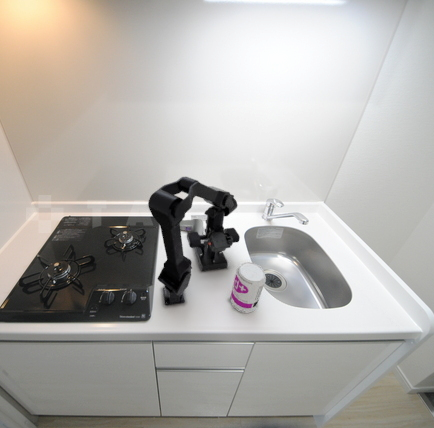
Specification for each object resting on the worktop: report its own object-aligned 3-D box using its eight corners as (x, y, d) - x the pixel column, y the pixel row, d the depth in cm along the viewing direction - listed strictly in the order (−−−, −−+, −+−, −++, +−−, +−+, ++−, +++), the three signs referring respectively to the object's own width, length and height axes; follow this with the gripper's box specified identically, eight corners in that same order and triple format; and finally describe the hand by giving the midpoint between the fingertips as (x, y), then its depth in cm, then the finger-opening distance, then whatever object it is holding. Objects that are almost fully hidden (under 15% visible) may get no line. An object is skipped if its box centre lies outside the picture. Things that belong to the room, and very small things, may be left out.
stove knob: (214, 257, 80) (215, 250, 78) (210, 258, 80) (211, 250, 78) (210, 249, 84) (211, 242, 82) (207, 250, 84) (208, 242, 82)
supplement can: (238, 317, 64) (247, 286, 55) (225, 294, 70) (232, 263, 62) (261, 310, 66) (273, 279, 57) (246, 288, 72) (255, 258, 64)
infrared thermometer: (172, 225, 104) (202, 225, 102) (169, 241, 94) (203, 242, 92) (171, 218, 101) (203, 218, 100) (168, 233, 91) (203, 234, 90)
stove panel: (226, 268, 80) (228, 262, 78) (201, 271, 79) (202, 265, 77) (214, 242, 92) (215, 236, 90) (192, 244, 91) (193, 239, 89)
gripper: (194, 239, 65) (192, 272, 74) (250, 233, 68) (241, 265, 77) (187, 219, 74) (186, 251, 83) (236, 214, 77) (230, 245, 86)
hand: (210, 253), depth 82 cm, fingers open, 6 cm apart
